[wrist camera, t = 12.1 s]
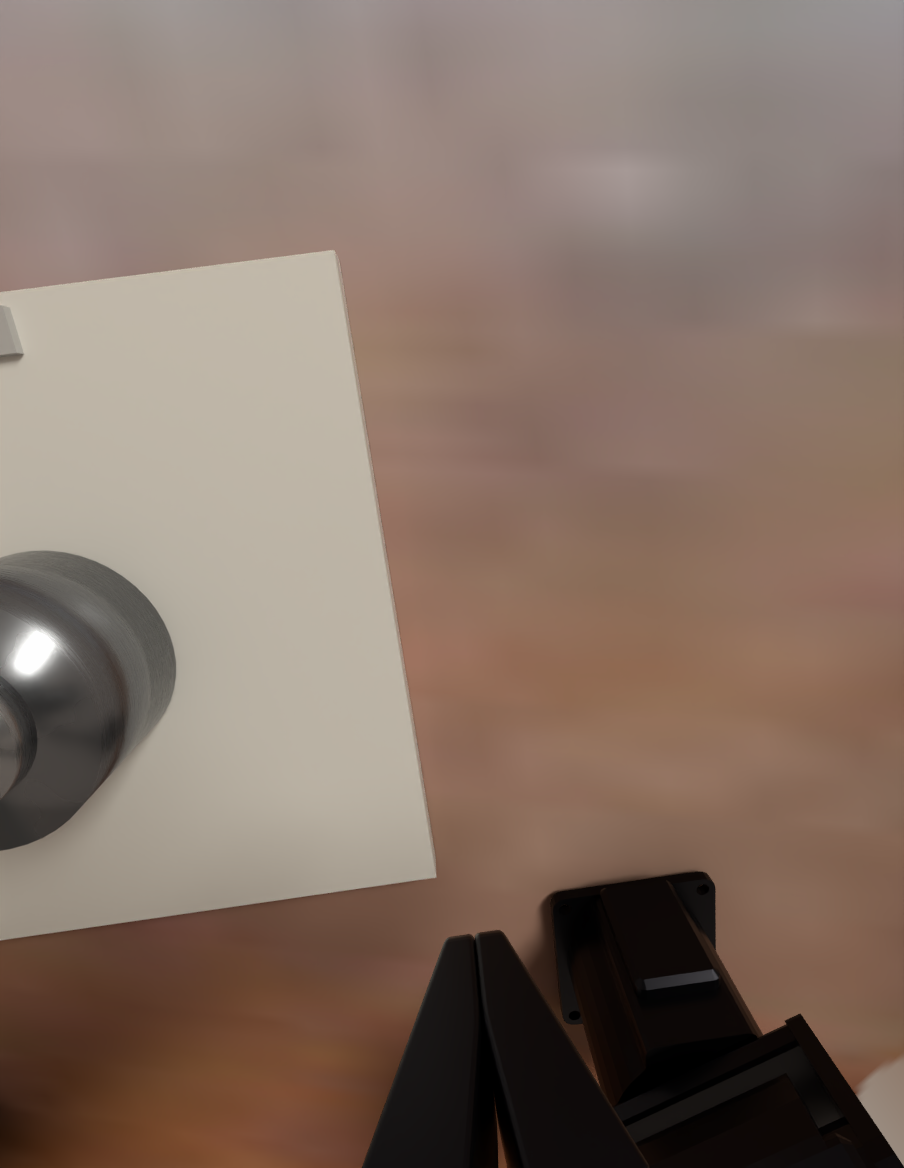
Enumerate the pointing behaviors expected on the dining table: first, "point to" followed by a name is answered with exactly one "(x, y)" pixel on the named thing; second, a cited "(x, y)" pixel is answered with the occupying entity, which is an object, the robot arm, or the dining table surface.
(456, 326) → the dining table surface
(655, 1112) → the robot arm
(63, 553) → the lever
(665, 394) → the dining table surface
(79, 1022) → the dining table surface
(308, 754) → the plate
